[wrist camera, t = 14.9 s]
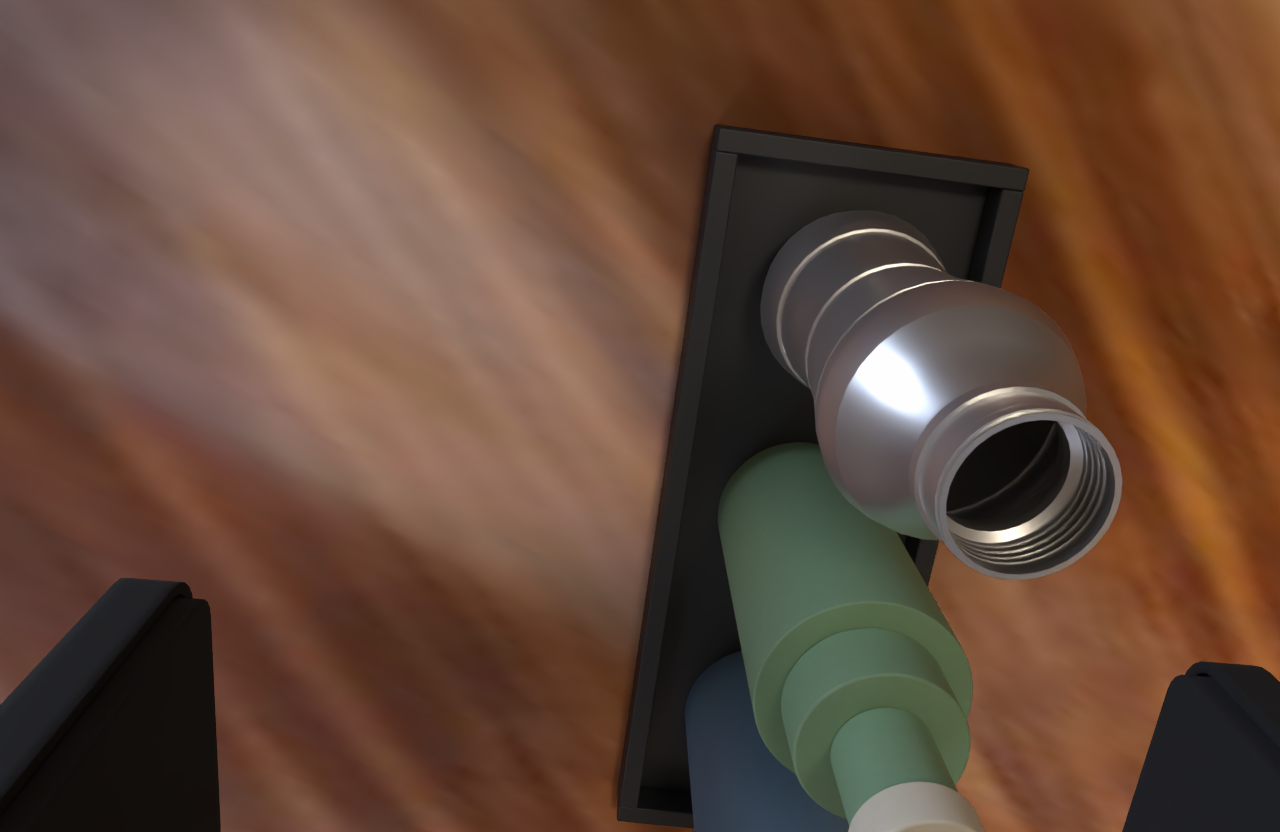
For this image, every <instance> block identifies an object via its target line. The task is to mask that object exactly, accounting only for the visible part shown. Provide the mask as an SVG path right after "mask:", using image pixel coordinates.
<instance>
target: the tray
mask: <svg viewBox="0 0 1280 832" xmlns="http://www.w3.org/2000/svg"><path fill="white" fill-rule="evenodd" d="M1028 174H1029V169H1028V168H1024V167H1020V166H1016V165H1013V164H1009V163H1001V162H994V161H986V160H979V159H971V158H964V157H956V156H949V155H941V154H934V153H927V152H919V151H912V150H904V149H897V148H889V147H882V146H874V145H867V144H859V143H852V142H844V141H837V140H829V139H822V138H814V137H807V136H799V135H792V134H784V133H777V132H769V131H762V130H754V129H747V128H739V127H732V126H724V125H715V128H714V135H713V142H712V148H711V155H710V162H709V169H708V176H707V183H706V189H705V196H704V203H703V210H702V217H701V224H700V230H699V237H698V244H697V251H696V258H695V264H694V271H693V278H692V285H691V292H690V299H689V305H688V312H687V319H686V326H685V333H684V340H683V346H682V353H681V360H680V367H679V374H678V381H677V387H676V394H675V401H674V408H673V415H672V422H671V428H670V435H669V442H668V449H667V456H666V463H665V469H664V476H663V483H662V490H661V497H660V503H659V510H658V517H657V524H656V531H655V538H654V544H653V551H652V558H651V565H650V572H649V579H648V585H647V592H646V599H645V606H644V613H643V620H642V626H641V633H640V640H639V647H638V654H637V661H636V667H635V674H634V681H633V688H632V695H631V702H630V708H629V715H628V722H627V729H626V736H625V742H624V749H623V756H622V763H621V770H620V777H619V783H618V798H617V820H618V821H625V822H635V823H645V824H655V825H665V826H675V827H685V828H694V822H693V810H692V798H691V786H690V774H689V762H688V750H687V737H686V725H685V705H686V700H687V697H688V694H689V692H690V689H691V687H692V686H693V684H694V682H695V681H696V680H697V678H698V677H699V676H700V674H701V673H702V672H703V671H704V670H706V669H707V668H708V667H709V666H710V665H712V664H713V663H714V662H716V661H718V660H719V659H721V658H723V657H725V656H727V655H730V654H732V653H736V652H739V651H742V650H741V644H740V639H739V634H738V629H737V623H736V618H735V613H734V607H733V602H732V597H731V592H730V586H729V581H728V576H727V570H726V565H725V560H724V555H723V549H722V544H721V539H720V533H719V528H718V506H719V502H720V498H721V495H722V493H723V490H724V488H725V486H726V484H727V482H728V481H729V479H730V478H731V476H732V475H733V474H734V472H735V471H736V470H737V469H738V468H739V467H740V466H741V465H742V464H743V463H744V462H746V461H747V460H748V459H749V458H751V457H752V456H754V455H756V454H757V453H759V452H761V451H763V450H765V449H767V448H770V447H773V446H776V445H780V444H785V443H794V442H806V443H814V444H819V442H818V438H817V434H816V425H815V410H814V398H813V396H812V392H811V389H810V388H808V387H806V386H804V385H803V384H802V383H801V382H799V381H798V380H797V379H796V378H794V377H793V376H792V375H791V374H790V373H788V372H787V371H786V370H785V369H784V368H783V367H782V366H781V364H780V363H779V362H778V361H777V360H776V358H775V357H774V356H773V354H772V352H771V350H770V348H769V346H768V344H767V342H766V340H765V337H764V333H763V329H762V325H761V311H760V305H761V298H762V291H763V286H764V282H765V279H766V276H767V273H768V270H769V268H770V265H771V263H772V262H773V260H774V258H775V257H776V255H777V253H778V251H779V250H780V249H781V248H782V247H783V245H784V244H785V243H786V242H787V241H788V240H789V238H790V237H792V236H793V235H794V234H795V233H797V232H798V231H799V230H800V229H802V228H803V227H804V226H806V225H808V224H810V223H811V222H813V221H815V220H817V219H819V218H822V217H825V216H828V215H831V214H834V213H839V212H847V211H855V210H868V211H879V212H883V213H887V214H890V215H894V216H897V217H898V218H900V219H902V220H904V221H906V222H908V223H910V224H912V225H913V226H914V227H915V228H916V229H917V230H918V231H920V232H921V233H922V234H923V235H924V236H925V237H926V238H927V240H928V241H929V242H930V244H931V245H932V247H933V248H934V249H935V251H936V252H937V254H938V255H939V257H940V258H941V260H942V263H943V265H944V267H945V269H946V272H947V273H948V274H949V275H951V276H953V277H955V278H960V279H964V280H969V281H974V282H980V283H984V284H987V285H991V286H994V287H998V288H1001V284H1002V280H1003V275H1004V271H1005V267H1006V263H1007V259H1008V255H1009V251H1010V247H1011V243H1012V238H1013V234H1014V230H1015V226H1016V222H1017V218H1018V214H1019V210H1020V206H1021V202H1022V197H1023V192H1022V191H1024V190H1025V186H1026V182H1027V178H1028ZM897 534H898V536H899V538H900V539H901V541H902V543H903V545H904V546H905V548H906V550H907V552H908V554H909V555H910V557H911V559H912V561H913V562H914V564H915V566H916V568H917V569H918V571H919V573H920V575H921V576H922V578H923V580H924V582H925V583H926V585H927V587H928V583H929V579H930V575H931V571H932V567H933V563H934V559H935V555H936V550H937V546H938V542H939V540H924V539H919V538H915V537H912V536H908V535H904V534H900V533H898V532H897Z"/></svg>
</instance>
